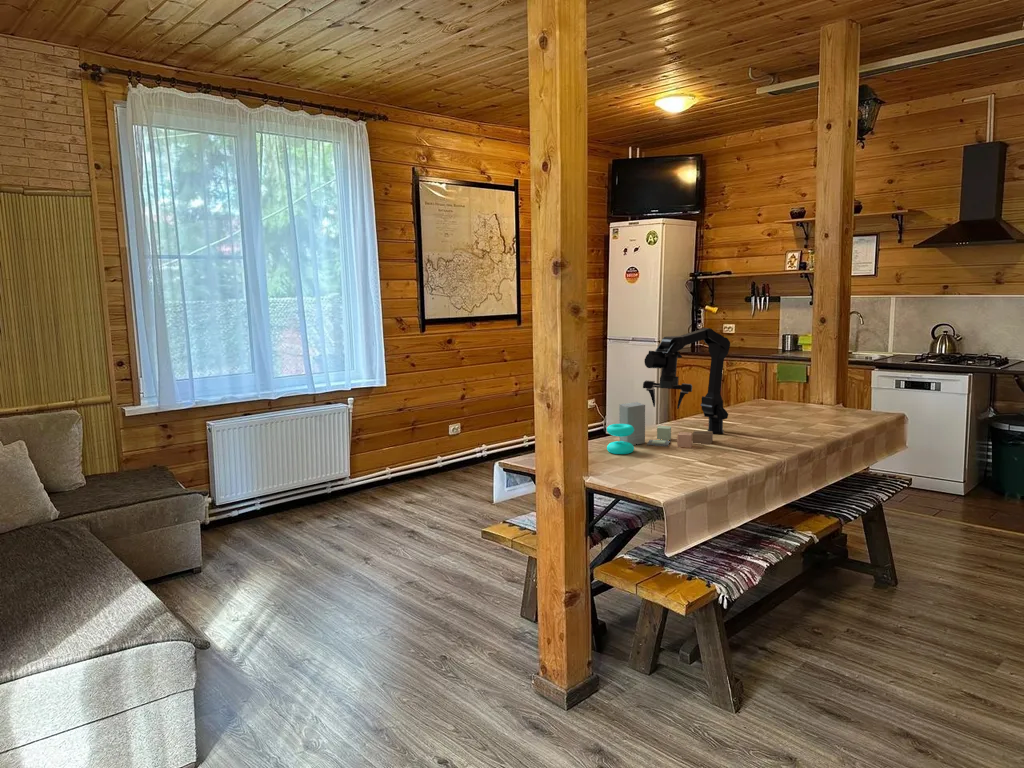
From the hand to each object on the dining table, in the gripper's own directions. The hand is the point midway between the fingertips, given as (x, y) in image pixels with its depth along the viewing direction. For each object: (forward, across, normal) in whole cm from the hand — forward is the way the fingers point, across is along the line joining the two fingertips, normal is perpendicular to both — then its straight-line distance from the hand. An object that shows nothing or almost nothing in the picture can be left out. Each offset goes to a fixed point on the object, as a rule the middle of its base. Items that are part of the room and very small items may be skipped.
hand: (665, 407), depth 280 cm
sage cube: (+13, 0, +2) cm, 13 cm away
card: (+13, -1, -7) cm, 15 cm away
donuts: (+16, -13, -24) cm, 32 cm away
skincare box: (+14, -11, -9) cm, 20 cm away
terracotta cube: (+13, +9, -10) cm, 18 cm away
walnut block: (+12, +15, -1) cm, 19 cm away
